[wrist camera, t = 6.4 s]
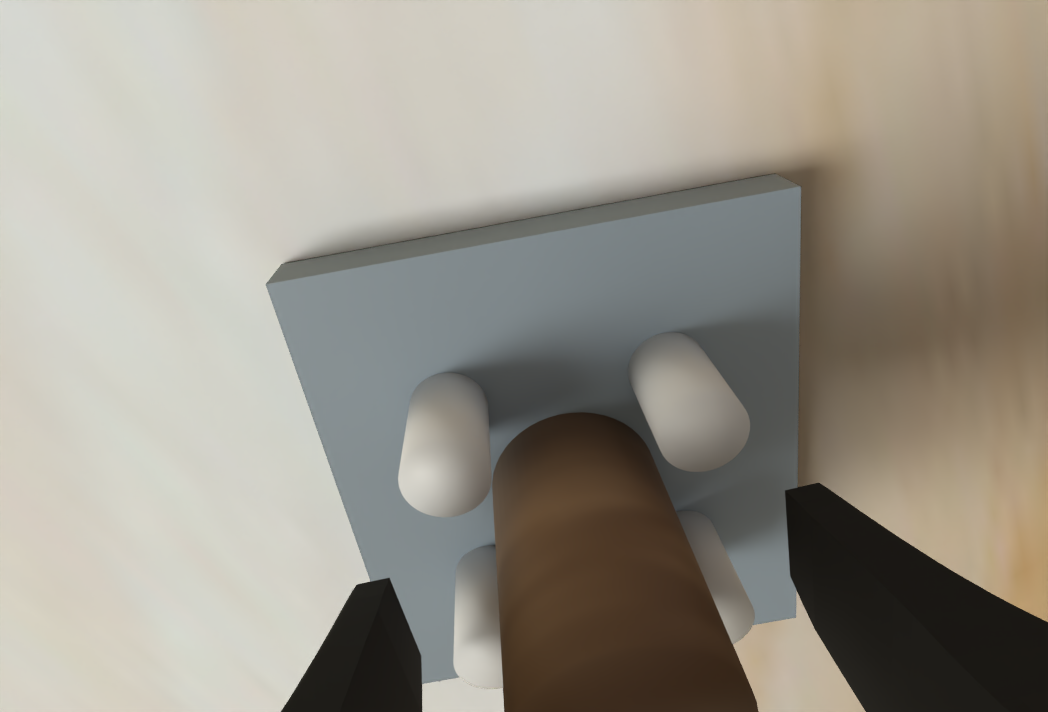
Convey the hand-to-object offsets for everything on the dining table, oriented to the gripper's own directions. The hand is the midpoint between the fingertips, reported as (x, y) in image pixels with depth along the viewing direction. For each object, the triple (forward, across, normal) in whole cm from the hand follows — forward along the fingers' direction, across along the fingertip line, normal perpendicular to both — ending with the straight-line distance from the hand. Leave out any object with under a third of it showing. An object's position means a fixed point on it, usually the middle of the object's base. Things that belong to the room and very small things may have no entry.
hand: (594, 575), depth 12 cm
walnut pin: (+3, 0, 0) cm, 3 cm away
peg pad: (+4, 0, 0) cm, 4 cm away
